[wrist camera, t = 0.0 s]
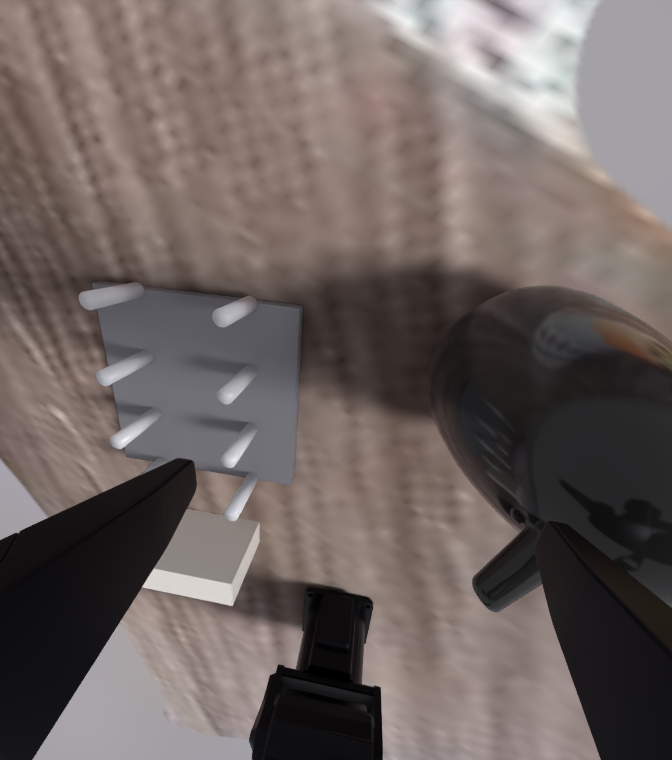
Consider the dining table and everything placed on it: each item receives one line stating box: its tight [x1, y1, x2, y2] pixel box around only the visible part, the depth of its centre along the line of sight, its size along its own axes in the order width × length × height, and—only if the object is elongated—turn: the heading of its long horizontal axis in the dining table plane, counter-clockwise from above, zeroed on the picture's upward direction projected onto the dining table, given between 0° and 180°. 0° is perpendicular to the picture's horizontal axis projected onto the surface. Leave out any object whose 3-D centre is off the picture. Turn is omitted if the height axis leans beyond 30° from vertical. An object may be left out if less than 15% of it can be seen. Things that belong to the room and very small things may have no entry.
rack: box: [79, 281, 303, 521], centre depth 23 cm, size 15×14×5 cm
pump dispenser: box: [427, 286, 672, 612], centre depth 14 cm, size 10×10×15 cm
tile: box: [142, 509, 259, 606], centre depth 28 cm, size 2×10×6 cm, turn 85°
